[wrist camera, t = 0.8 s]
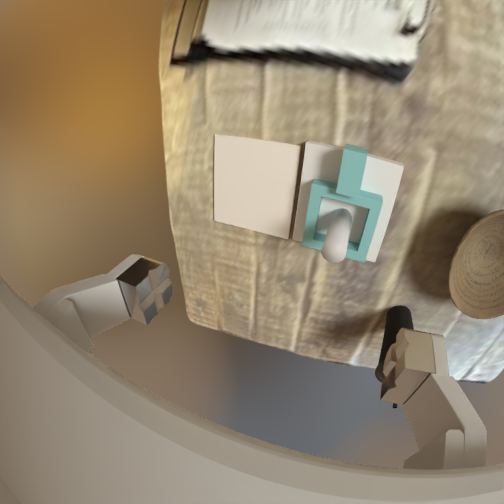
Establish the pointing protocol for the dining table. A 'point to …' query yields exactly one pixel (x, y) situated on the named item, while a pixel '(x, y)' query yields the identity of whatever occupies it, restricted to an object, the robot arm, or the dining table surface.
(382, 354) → the drinking cup
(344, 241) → the post stand
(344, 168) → the teal square ring handle
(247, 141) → the mat
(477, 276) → the bowl
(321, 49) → the dining table surface
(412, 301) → the dining table surface
